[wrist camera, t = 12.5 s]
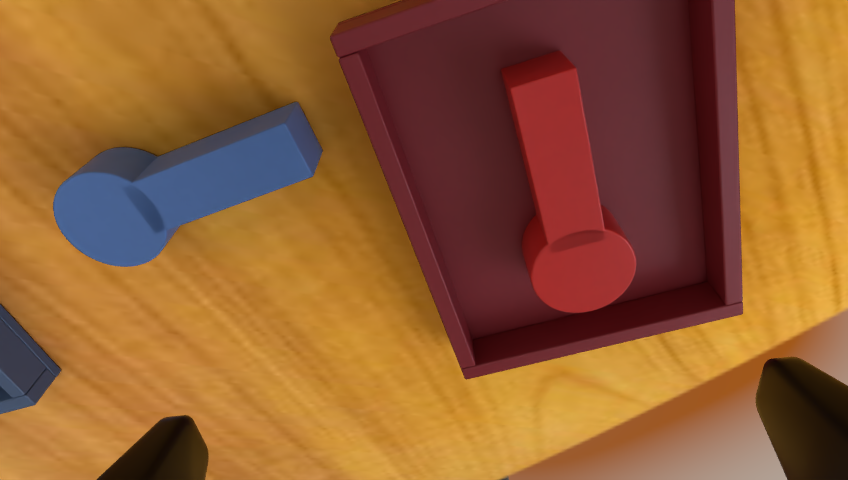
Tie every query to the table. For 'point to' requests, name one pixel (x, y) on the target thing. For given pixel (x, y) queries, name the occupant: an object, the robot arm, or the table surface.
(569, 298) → the red spoon
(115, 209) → the blue spoon
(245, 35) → the table surface
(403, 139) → the red tray
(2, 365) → the blue tray
